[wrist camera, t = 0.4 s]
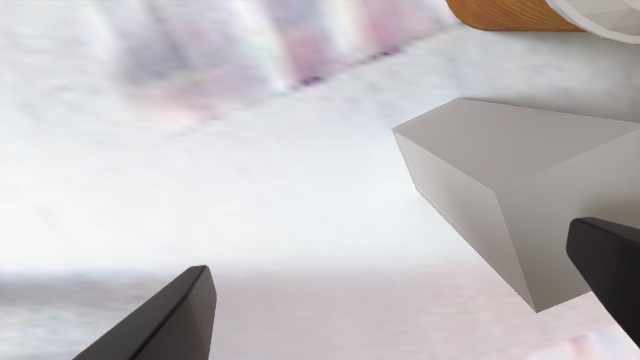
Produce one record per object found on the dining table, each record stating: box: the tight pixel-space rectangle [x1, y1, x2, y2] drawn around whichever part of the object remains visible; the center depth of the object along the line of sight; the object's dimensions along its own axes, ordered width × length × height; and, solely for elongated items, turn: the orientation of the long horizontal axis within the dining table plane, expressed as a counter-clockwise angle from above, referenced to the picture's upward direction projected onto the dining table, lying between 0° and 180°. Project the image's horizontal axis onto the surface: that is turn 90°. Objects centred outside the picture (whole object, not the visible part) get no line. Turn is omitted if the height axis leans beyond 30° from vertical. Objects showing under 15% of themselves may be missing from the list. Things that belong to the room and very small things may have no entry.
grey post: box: [392, 98, 640, 313], centre depth 17 cm, size 4×4×13 cm
